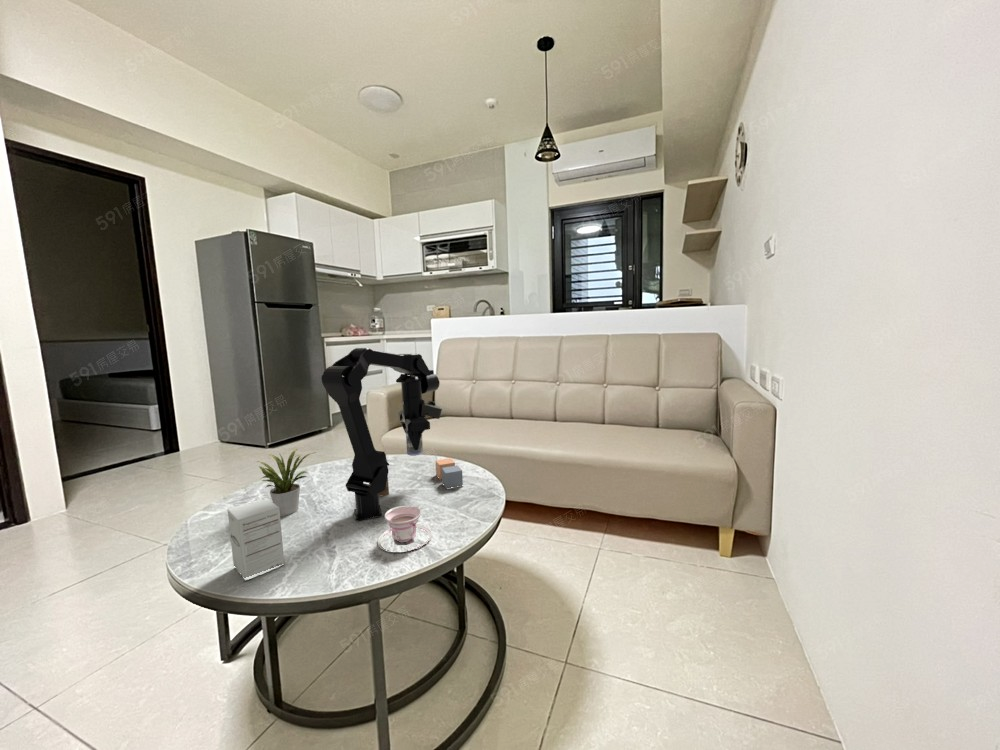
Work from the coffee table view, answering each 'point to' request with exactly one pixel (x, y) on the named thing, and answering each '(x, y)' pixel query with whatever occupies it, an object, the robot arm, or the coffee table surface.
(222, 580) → the coffee table surface
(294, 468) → the house plant
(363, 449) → the robot arm
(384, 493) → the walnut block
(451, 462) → the terracotta block
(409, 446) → the pill bottle
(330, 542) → the coffee table surface
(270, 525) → the supplement box
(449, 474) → the slate-grey block
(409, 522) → the teacup
